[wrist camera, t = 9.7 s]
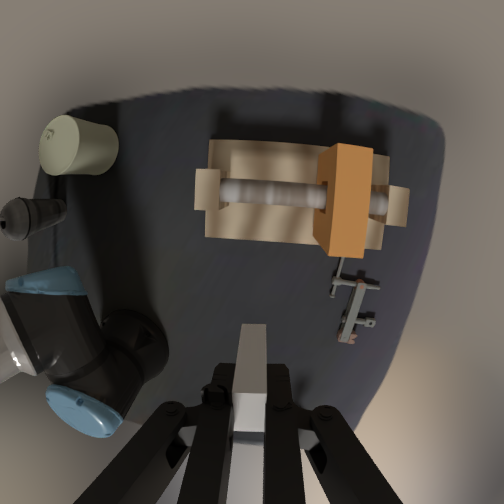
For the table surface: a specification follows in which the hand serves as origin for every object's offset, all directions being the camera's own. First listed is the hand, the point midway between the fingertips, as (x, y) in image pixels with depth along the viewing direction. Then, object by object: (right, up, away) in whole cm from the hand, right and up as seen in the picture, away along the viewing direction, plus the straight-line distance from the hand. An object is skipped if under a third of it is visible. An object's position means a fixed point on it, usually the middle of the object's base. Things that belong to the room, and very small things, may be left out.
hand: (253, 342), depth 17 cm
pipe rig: (+7, +15, +24) cm, 29 cm away
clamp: (+17, -2, +28) cm, 33 cm away
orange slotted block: (+11, +14, +22) cm, 28 cm away
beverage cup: (-38, +14, +27) cm, 49 cm away
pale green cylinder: (-27, +24, +24) cm, 44 cm away
